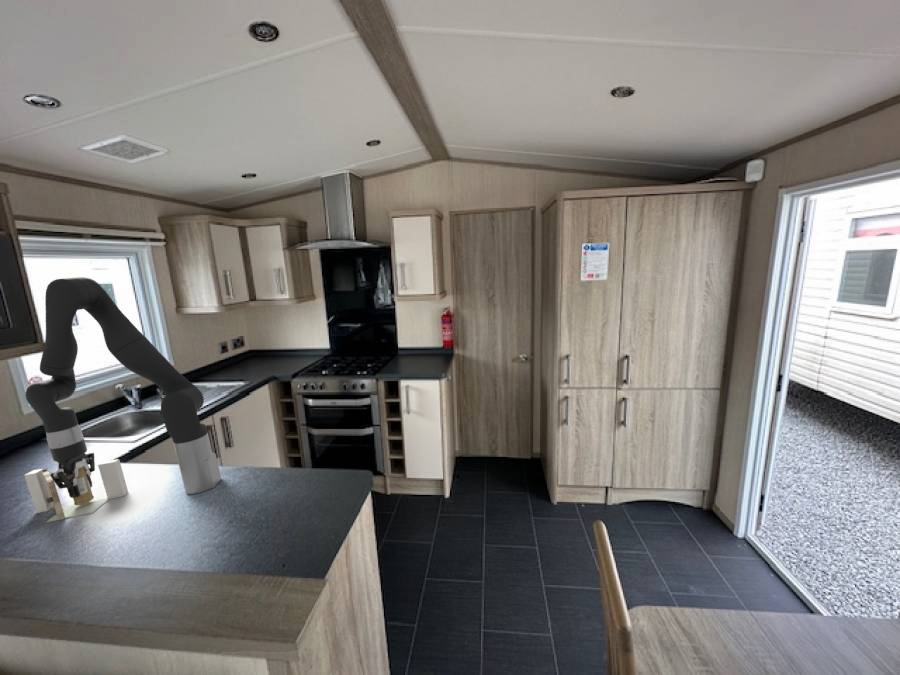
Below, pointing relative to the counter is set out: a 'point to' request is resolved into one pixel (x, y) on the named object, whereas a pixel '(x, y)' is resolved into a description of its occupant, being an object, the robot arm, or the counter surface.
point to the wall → (113, 478)
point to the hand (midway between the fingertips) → (82, 492)
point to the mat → (81, 509)
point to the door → (53, 495)
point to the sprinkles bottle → (82, 486)
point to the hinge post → (38, 490)
